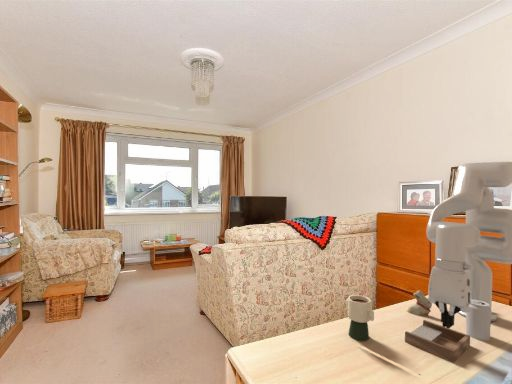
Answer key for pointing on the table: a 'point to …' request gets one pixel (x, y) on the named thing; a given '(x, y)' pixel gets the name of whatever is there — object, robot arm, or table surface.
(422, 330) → the concrete block
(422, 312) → the grey figurine
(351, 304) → the character mug
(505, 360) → the table surface
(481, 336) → the beverage can
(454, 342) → the walnut box
